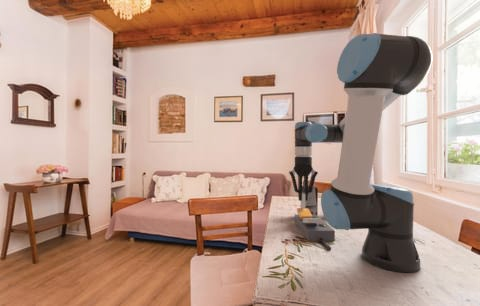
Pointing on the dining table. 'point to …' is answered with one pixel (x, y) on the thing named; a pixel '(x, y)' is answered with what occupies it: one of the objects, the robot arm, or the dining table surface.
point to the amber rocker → (304, 213)
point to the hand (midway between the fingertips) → (302, 207)
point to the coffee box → (312, 200)
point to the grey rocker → (311, 220)
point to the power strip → (316, 231)
